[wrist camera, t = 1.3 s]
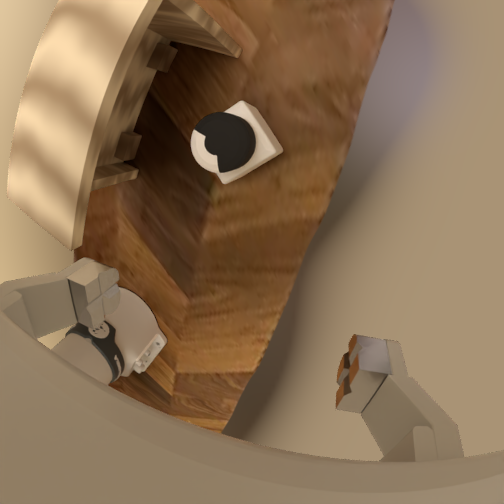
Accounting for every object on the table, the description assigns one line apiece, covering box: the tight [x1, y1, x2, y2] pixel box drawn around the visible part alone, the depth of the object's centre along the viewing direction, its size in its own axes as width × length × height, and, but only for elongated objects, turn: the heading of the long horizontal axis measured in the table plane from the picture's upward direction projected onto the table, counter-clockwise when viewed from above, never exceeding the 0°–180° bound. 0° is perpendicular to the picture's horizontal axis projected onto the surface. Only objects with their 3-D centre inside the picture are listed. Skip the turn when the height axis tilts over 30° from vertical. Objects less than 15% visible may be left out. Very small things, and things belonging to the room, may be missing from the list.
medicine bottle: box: [191, 101, 283, 184], centre depth 30 cm, size 7×7×12 cm
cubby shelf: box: [7, 0, 242, 251], centre depth 26 cm, size 24×13×22 cm, turn 154°
